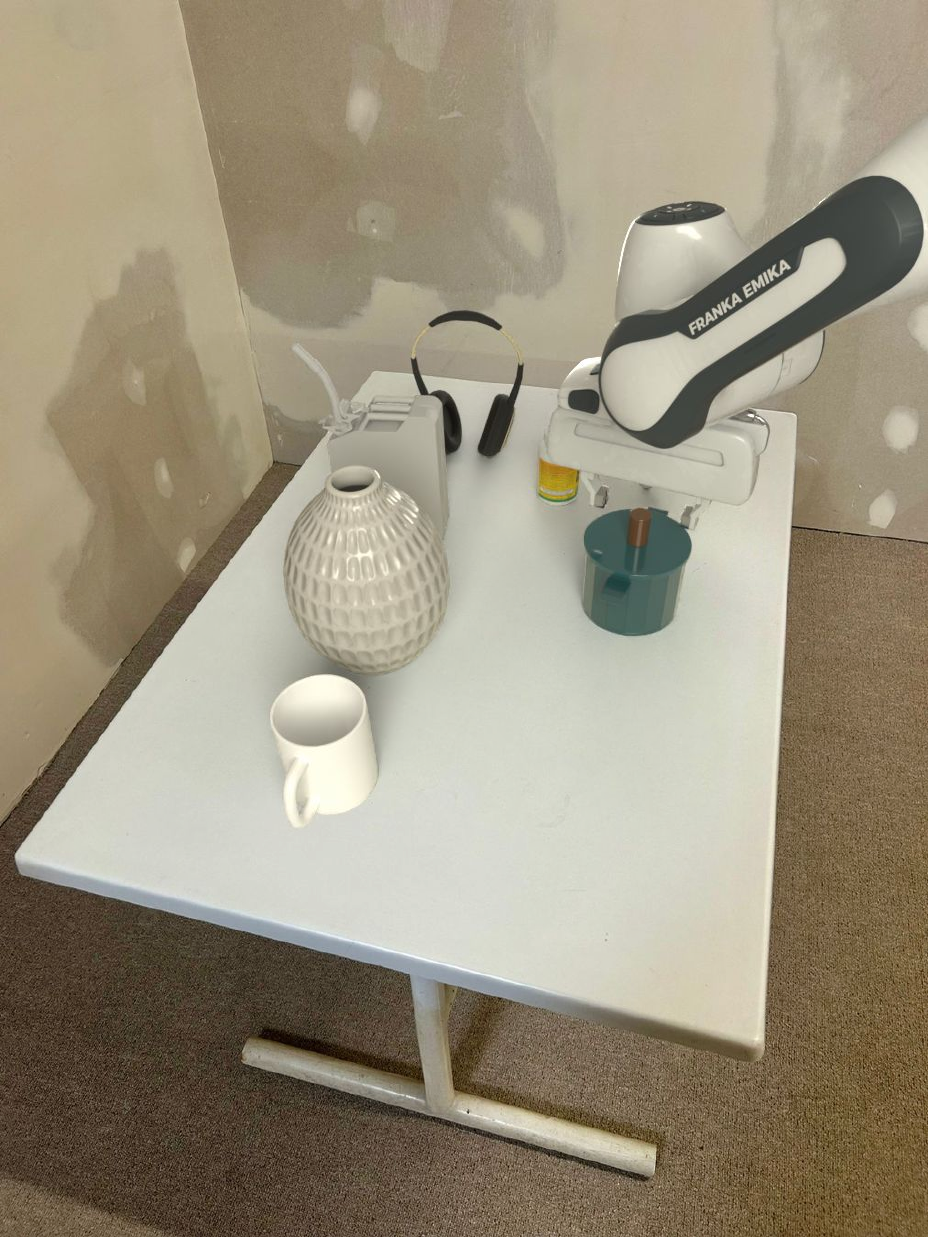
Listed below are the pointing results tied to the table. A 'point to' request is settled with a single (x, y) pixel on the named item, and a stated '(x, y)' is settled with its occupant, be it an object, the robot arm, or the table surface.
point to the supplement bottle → (555, 478)
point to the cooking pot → (630, 599)
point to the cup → (323, 746)
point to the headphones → (501, 406)
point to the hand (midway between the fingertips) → (642, 514)
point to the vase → (366, 573)
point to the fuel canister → (391, 442)
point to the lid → (637, 544)
